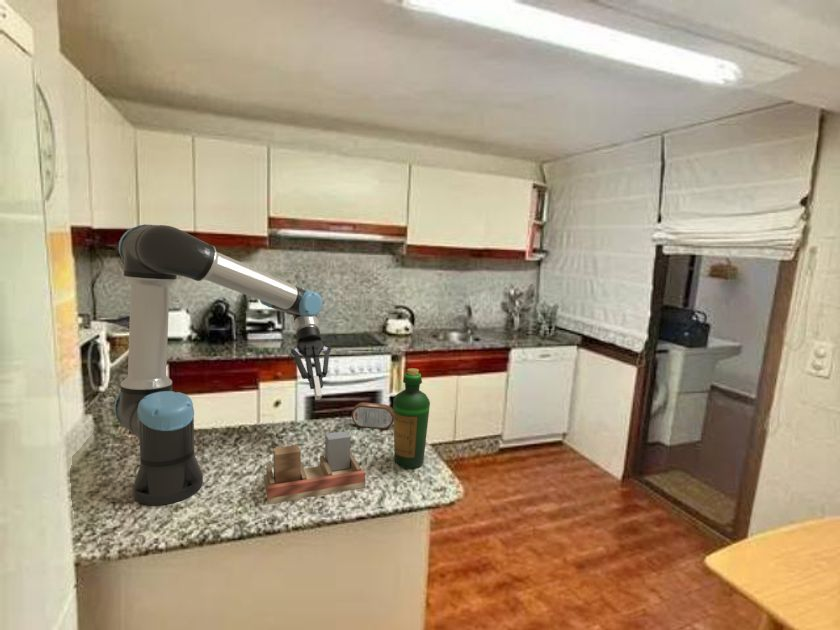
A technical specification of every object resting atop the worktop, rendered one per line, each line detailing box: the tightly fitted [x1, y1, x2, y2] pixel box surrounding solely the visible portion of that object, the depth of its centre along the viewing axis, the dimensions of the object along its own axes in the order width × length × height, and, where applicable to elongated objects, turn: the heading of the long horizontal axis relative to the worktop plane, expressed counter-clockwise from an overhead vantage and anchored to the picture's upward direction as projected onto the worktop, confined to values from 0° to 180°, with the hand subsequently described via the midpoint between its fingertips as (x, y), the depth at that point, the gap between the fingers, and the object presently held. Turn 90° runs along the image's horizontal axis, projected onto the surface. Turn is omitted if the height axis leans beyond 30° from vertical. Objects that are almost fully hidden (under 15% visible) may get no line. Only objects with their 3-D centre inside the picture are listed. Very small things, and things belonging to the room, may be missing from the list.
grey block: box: [324, 430, 352, 471], centre depth 123 cm, size 6×5×9 cm
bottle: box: [392, 367, 431, 469], centre depth 130 cm, size 11×11×28 cm
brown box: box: [273, 444, 302, 484], centre depth 113 cm, size 6×5×9 cm
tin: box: [351, 401, 394, 430], centre depth 156 cm, size 15×3×8 cm, turn 84°
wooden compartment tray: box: [263, 451, 366, 505], centre depth 117 cm, size 24×12×4 cm, turn 114°
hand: (318, 397), depth 134 cm, fingers closed
